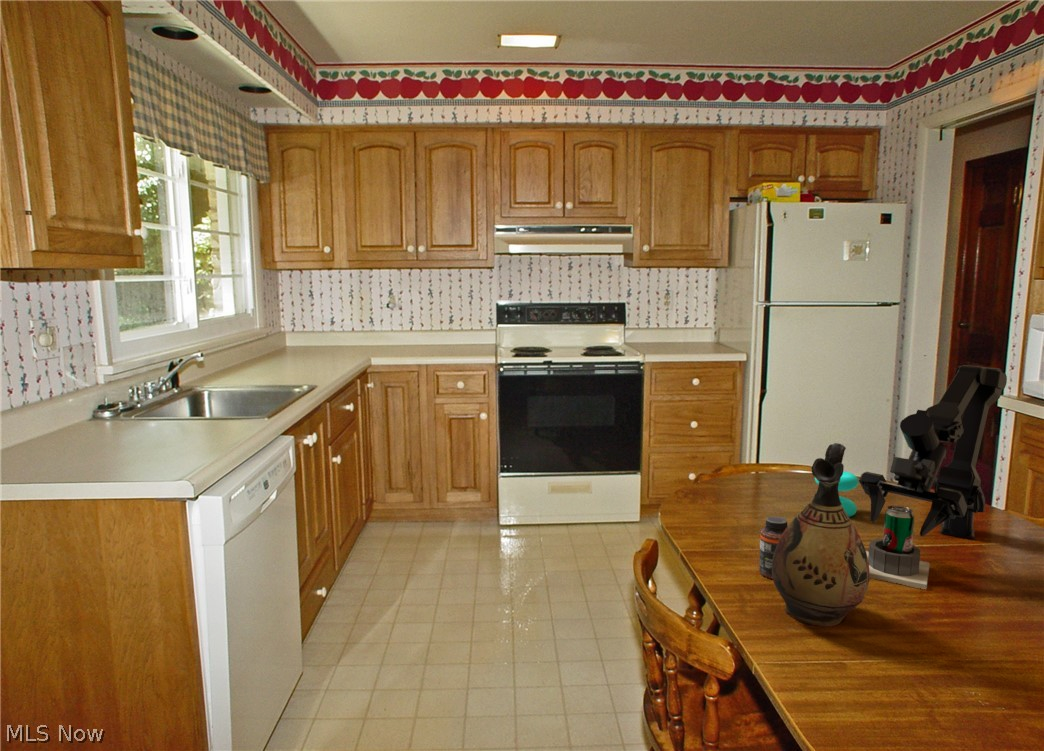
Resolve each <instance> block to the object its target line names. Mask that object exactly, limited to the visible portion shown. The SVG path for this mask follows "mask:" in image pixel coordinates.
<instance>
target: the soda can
mask: <svg viewBox="0 0 1044 751" xmlns="http://www.w3.org/2000/svg"><path fill="white" fill-rule="evenodd" d="M883 524H884V525H883V534H882V535H883V537H882V539H883V548H882V550H884V551H886V552H890V553H896V554H911V553H912V545H913V542H914V541H913V539H914V526H915V515H914V513H913V509H911V508H910V507H906V506H902V505H888V506H887V509H886V510H885V512H884V522H883Z"/></svg>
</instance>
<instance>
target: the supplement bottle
mask: <svg viewBox="0 0 1044 751" xmlns="http://www.w3.org/2000/svg"><path fill="white" fill-rule="evenodd" d="M787 527H788V520H787V519H786V518H784V517H782V516H767V517H766V518H765V526H764V527H763V528H761V530H760V536H759V538H760V539H759V564H758V565H759V566H758V571H759V573H760V574H761V575H762V576H763V577H765V578H769V579H772V580H774V579H773V576H772V559H773V555H774V552H775V549H776V546H777V543H778V541H779V539H780V537H781V535H782V534H783V532H784V531H785V529H786V528H787Z"/></svg>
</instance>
